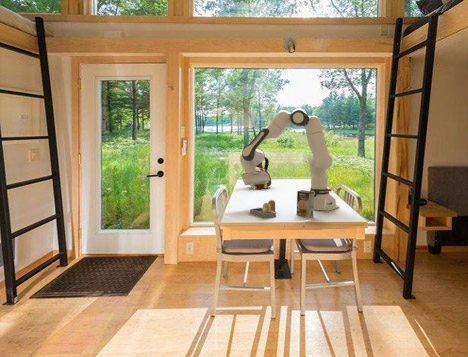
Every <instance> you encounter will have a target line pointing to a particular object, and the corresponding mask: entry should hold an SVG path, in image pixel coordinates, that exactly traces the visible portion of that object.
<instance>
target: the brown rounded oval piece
mask: <svg viewBox="0 0 468 357" xmlns="http://www.w3.org/2000/svg"><path fill="white" fill-rule="evenodd" d="M267 203H268V204H270V211H273V212H276V201H275V200H273V199H270V200H268V202H267Z"/></svg>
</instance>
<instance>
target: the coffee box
mask: <svg viewBox="0 0 468 357" xmlns="http://www.w3.org/2000/svg"><path fill="white" fill-rule="evenodd" d="M296 194H297V195H296V216H301V217H305V218H313V217H314V192H311V191H310V190H304V189H302V190H298V191H296Z"/></svg>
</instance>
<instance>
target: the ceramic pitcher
mask: <svg viewBox="0 0 468 357" xmlns="http://www.w3.org/2000/svg"><path fill="white" fill-rule="evenodd" d="M269 165H270V161H269V158H268V157H266V156H265V158H264V167H263V162H261V163H260V164H259V165H256V167H258V168H262V169H264V170H265V172H266V173H267V175H268V176H269V178H270V181H269V182H268V183H267V188H268V187H270V186H272V177H271V175H270V173H269V171H268V169H269ZM254 186H256V189H266V188H265V187H264V186H265V184H255V185H254Z"/></svg>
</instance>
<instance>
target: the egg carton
mask: <svg viewBox="0 0 468 357" xmlns="http://www.w3.org/2000/svg"><path fill="white" fill-rule="evenodd" d="M249 213H250V214H251V215H254V216H257V217H260V218H263V219H269V218H276V217H277V212H276V211H275V212H273V211H270V213H266V214H265V213H263V207H257V208H256V207H255V208H249Z"/></svg>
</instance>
